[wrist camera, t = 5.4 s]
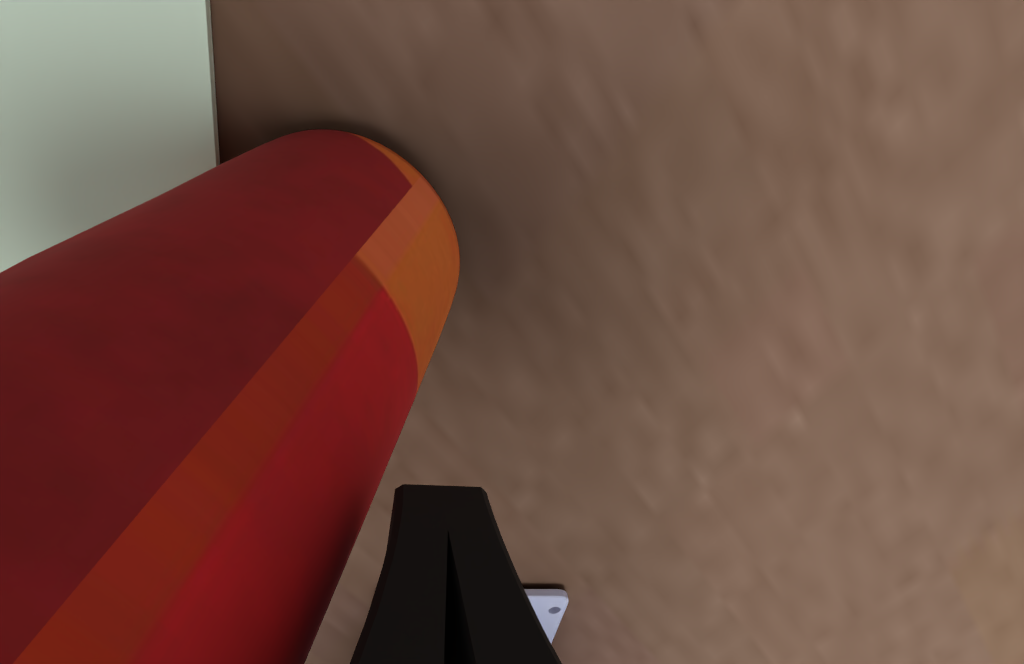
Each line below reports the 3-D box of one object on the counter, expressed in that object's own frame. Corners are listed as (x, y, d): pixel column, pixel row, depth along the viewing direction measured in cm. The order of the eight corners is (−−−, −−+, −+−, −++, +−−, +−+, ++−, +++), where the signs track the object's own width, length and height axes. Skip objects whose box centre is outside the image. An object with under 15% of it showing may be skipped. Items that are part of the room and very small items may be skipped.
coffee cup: (139, 220, 18) (-949, 926, 6) (314, -12, 14) (-2042, 773, 2) (372, 424, 21) (-81, 1225, 9) (582, 278, 16) (279, 1441, 4)
